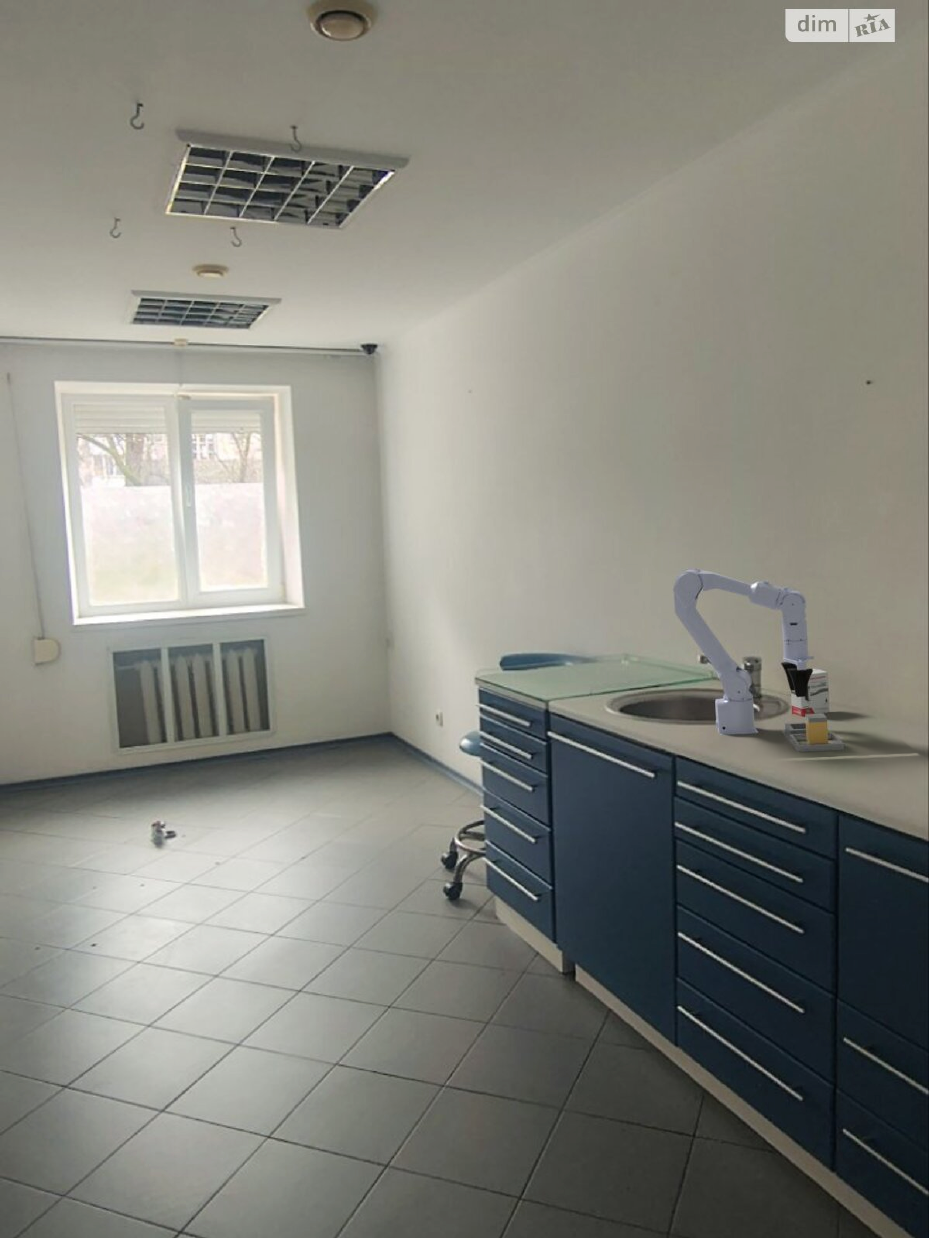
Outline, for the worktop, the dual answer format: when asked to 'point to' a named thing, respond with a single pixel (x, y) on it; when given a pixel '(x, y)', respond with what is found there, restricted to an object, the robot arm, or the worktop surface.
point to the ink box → (813, 695)
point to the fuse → (816, 729)
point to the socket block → (794, 729)
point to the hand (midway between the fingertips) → (797, 693)
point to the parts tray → (816, 747)
